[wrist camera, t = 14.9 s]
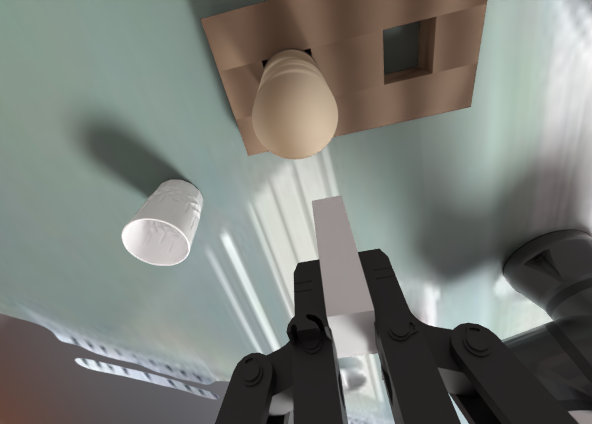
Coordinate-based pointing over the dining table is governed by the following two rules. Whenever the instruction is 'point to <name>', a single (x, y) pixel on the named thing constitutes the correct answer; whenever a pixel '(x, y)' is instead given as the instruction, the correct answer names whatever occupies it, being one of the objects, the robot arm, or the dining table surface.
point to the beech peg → (294, 106)
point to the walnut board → (352, 56)
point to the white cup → (165, 224)
